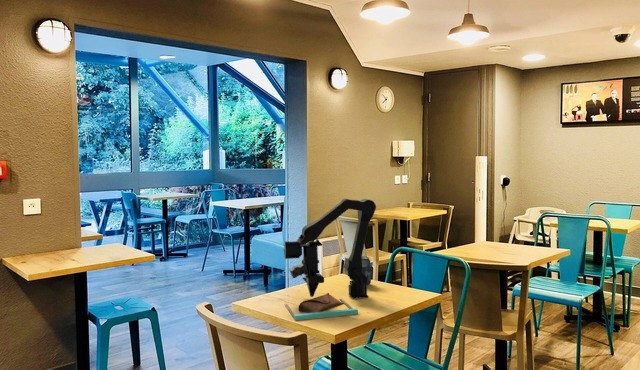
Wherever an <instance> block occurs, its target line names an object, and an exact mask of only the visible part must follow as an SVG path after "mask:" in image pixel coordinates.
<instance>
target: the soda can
mask: <svg viewBox="0 0 640 370" xmlns="http://www.w3.org/2000/svg"><path fill="white" fill-rule="evenodd" d="M371 266H372V265H371V259H370V257H369V256H362V273H363V274H364V275H365V276H366V277H367V278H368V280H367V287H368V286H370V284H371V283H372V273H371V272H372V271H371V270H372V268H371Z"/></svg>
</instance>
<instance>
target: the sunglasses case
mask: <svg viewBox="0 0 640 370" xmlns="http://www.w3.org/2000/svg"><path fill="white" fill-rule="evenodd" d="M341 305H345V304H344V303H343V302H342V301H340V299H339V300H338V299H337V298H336V297H334V296H333V295H331V294H330V293H329V292H327V293H326V294H323V295H319V296H316V297H314V298H311V299H307V300H303V301H301V302H300V303H299V305H298V312H300V313H303V314H304V313H314V312H324V311H329V310H330V309H333V308H335V307H338V306H341Z"/></svg>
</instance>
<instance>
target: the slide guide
mask: <svg viewBox="0 0 640 370" xmlns="http://www.w3.org/2000/svg"><path fill="white" fill-rule="evenodd" d="M339 301H340V302H342V303H344V304H343V305H345V307H347V309H346V308H345V309H335V310H325V311H323V312H314V313H304V312H303V313H296V314H295V313H294V312H293V310H292V308H291V307H290V306H289V304H288V303H285V304H284V306H285V308H286V310H287V311H288V313H290V316H291V317H292V318H293V320H294V321H301V320H303V321H304V320H312V319H323V318H332V317H333V318H334V317H341V316H348V315H349V316H350V315H358V314H359V309H358V308H355V307H354V308H353V307H352V306H351V305H350V304H349V303H348V302H347V301H345V300H344V299H343V298H339Z"/></svg>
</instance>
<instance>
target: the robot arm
mask: <svg viewBox="0 0 640 370" xmlns="http://www.w3.org/2000/svg"><path fill="white" fill-rule="evenodd" d="M376 209H377V204H376V203H375V202H374V201H373V200H372V199H369V198H363V199H360V200H357V199H348V198H343V199H342V200H341V201H340V202H338V203H337V204H336V205H335V206H333V207H332V208H331V209H329V211H327V212H326V213H325V214H323V215H322V216H321V217H319V218H318V219H316V220H314V221H312V222H310V223H307V224H306V225H305V226H303V227H302V229H301V234H300V236H299V237H298V238H297V240H295V241H288V240H287V241H285V240H284V248H283V255H284V256H283V257H284V260H290V259H291V260H292V259H300V258H301V257H303V258H302V259H301V263H299V264H297V265H294V266H292V267H290V268H289V269H288V271H289V273H290V275H291V277H292V279H296V278H297V277H299V276H302V275H303V277H301V278H302V281H304V282H305V283H306V285H307V289H308V293H309V296H310V297H311V298H312V297H314V295H315V294H316V291H317V288H318V286H319V284H324V283H325V277H324V276H323V275H322V274H321V273H320V269H319V263H320V260H319V251H318V250H319V248H318V247H322V246H323V243H322V242H320V240H319V239H318V237H319V236H321V234H323V232H324V230H325V229H326V227H328V226H329V225H330V224H331V223H333V222H334V221H336V220H337V219H339V218H340V217H341V216H342V215H343V214H345V212H347V211H348V210H352V211H353V210H354V211H357V225H356V230H355V235H354V240H353V243H352V247H351V251H350V255H349V256H348V257H345V258H344V264H343V265H342V267H343V268H344V269H343V272H344V273H345V275H347V277H348V278H349V284H348V285H347V286H348V296H349V297H351V298H352V299H353V300H354V299H355V300H356V299H363V298H364V299H365V298H366V299H367V298H369V295H368V288H367V287H368V286H367V280H368V278H367V277H366V276H365V275H364V274H363V273H362V257H363V252H364V248H365V242H366V239H367V238H366V237H367V233H368V229H369V224H370V222H371V220H372V218H373V217H374V214H375V211H376Z"/></svg>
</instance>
